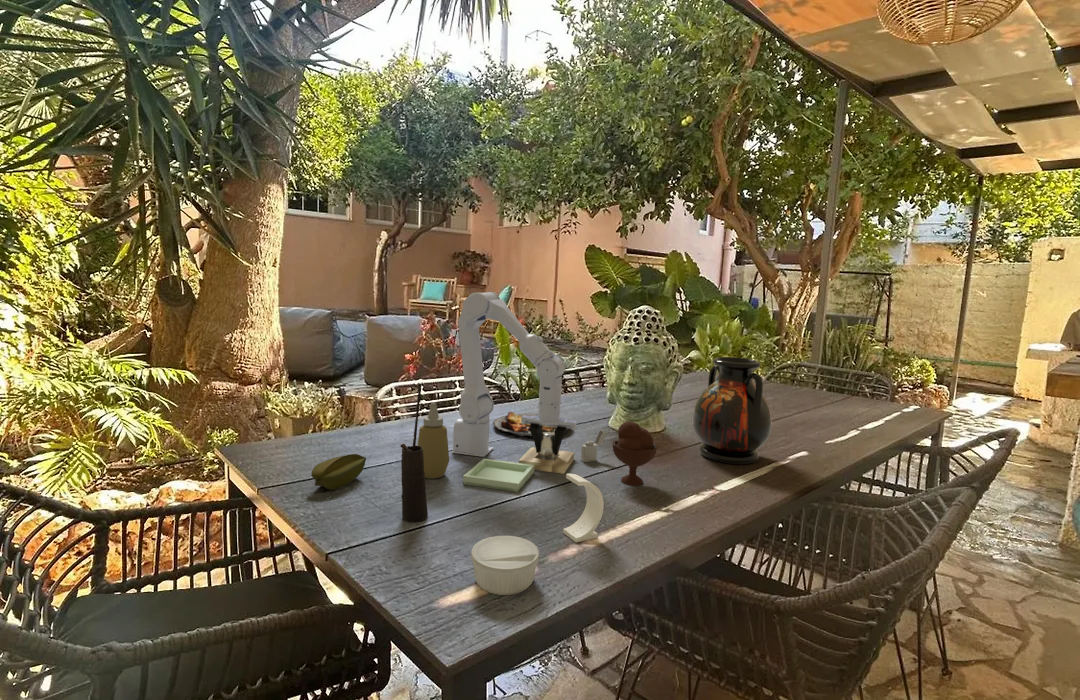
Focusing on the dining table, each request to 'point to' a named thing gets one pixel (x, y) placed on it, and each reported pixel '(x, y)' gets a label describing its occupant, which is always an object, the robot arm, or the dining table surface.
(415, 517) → the butter churn
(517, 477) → the tray
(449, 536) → the dining table surface
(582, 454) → the lighter
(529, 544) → the ramekin
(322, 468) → the fruit
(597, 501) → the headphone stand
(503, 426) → the food plate
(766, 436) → the amphora vase
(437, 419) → the squeeze bottle
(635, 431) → the ice cream bowl
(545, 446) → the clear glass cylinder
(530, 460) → the socket block
